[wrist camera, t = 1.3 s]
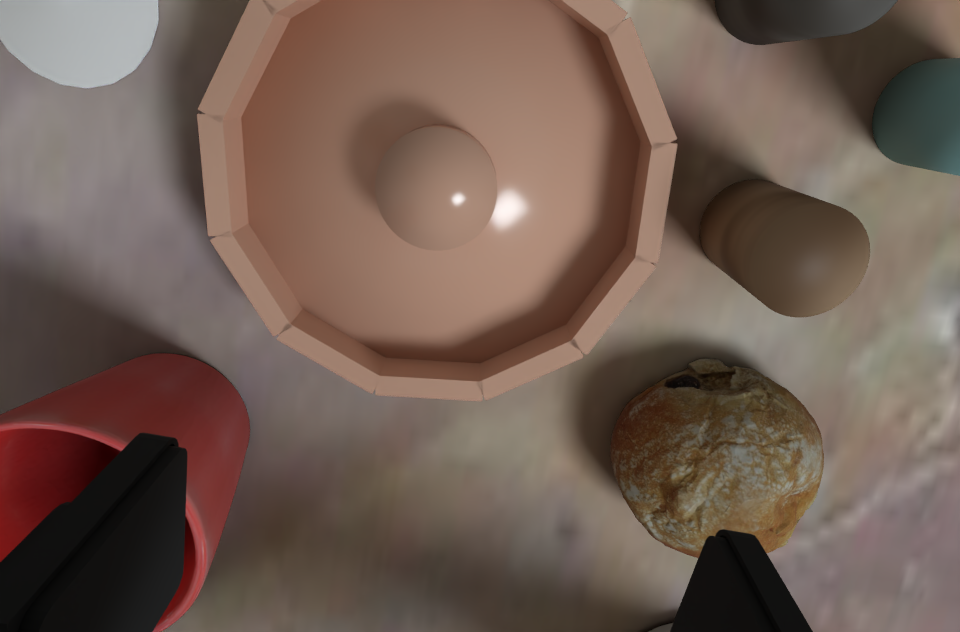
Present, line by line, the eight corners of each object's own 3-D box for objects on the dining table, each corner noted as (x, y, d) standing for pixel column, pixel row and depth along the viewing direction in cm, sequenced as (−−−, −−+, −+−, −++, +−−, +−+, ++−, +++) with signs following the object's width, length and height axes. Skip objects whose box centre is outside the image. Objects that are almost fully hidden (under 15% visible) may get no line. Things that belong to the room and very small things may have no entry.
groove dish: (741, 118, 28) (770, 122, 25) (497, 434, 33) (498, 467, 30) (362, -170, 24) (346, -203, 21) (161, 238, 30) (128, 254, 27)
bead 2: (816, 214, 29) (895, 246, 23) (751, 290, 30) (811, 337, 25) (743, 160, 28) (807, 179, 23) (680, 240, 30) (725, 277, 24)
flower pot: (74, 298, 31) (-99, 389, 22) (296, 353, 32) (220, 462, 23) (66, 476, 34) (-85, 618, 25) (266, 521, 35) (189, 673, 26)
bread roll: (754, 332, 35) (799, 327, 27) (833, 510, 34) (904, 558, 26) (586, 397, 37) (583, 409, 29) (657, 569, 35) (674, 632, 28)
